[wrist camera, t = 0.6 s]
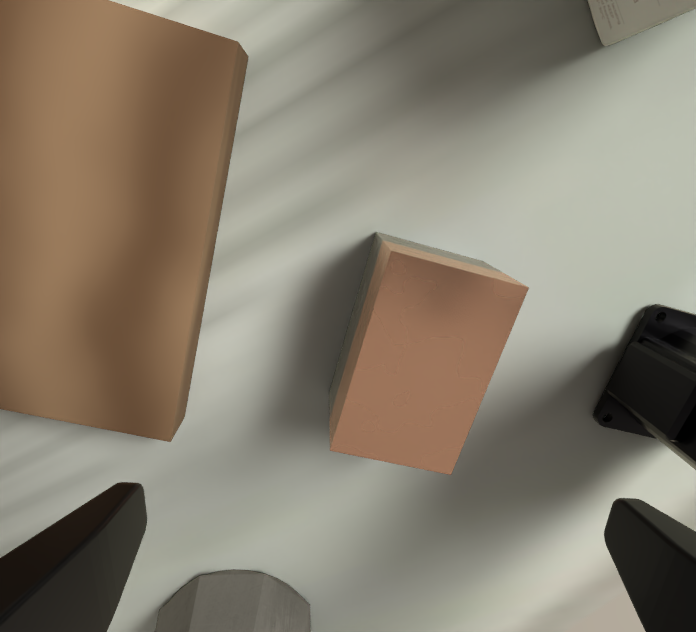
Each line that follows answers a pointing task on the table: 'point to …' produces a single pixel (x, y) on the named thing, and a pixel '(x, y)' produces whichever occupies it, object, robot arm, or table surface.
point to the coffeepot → (235, 605)
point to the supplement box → (633, 16)
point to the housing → (419, 354)
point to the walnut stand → (108, 208)
